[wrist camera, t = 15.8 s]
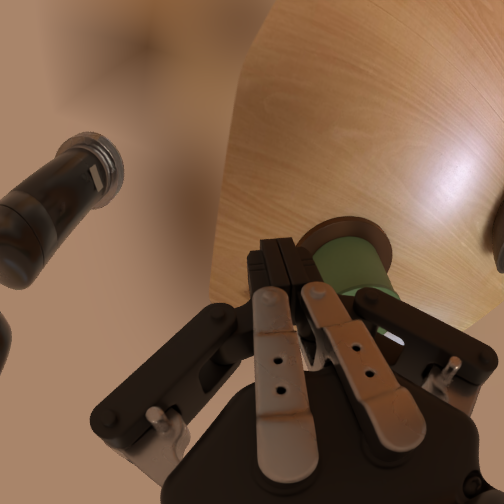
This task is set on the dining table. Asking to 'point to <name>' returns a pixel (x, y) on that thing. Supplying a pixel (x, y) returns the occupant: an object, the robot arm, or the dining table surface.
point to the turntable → (349, 229)
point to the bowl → (499, 240)
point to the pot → (352, 267)
